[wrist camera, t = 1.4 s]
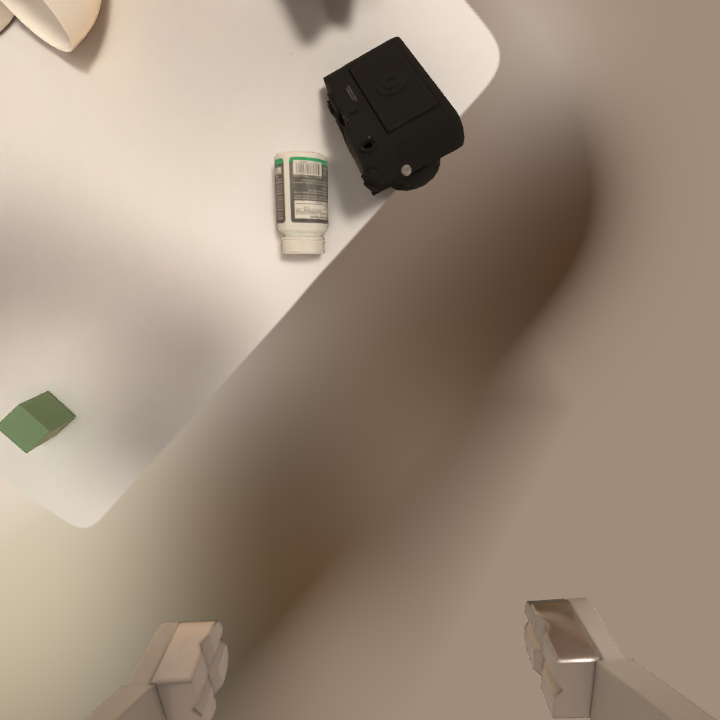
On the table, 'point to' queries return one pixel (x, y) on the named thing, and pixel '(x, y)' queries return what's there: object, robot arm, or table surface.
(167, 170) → the table surface
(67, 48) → the cup
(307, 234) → the pill bottle
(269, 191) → the table surface
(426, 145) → the camera
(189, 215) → the table surface
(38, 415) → the block sage
